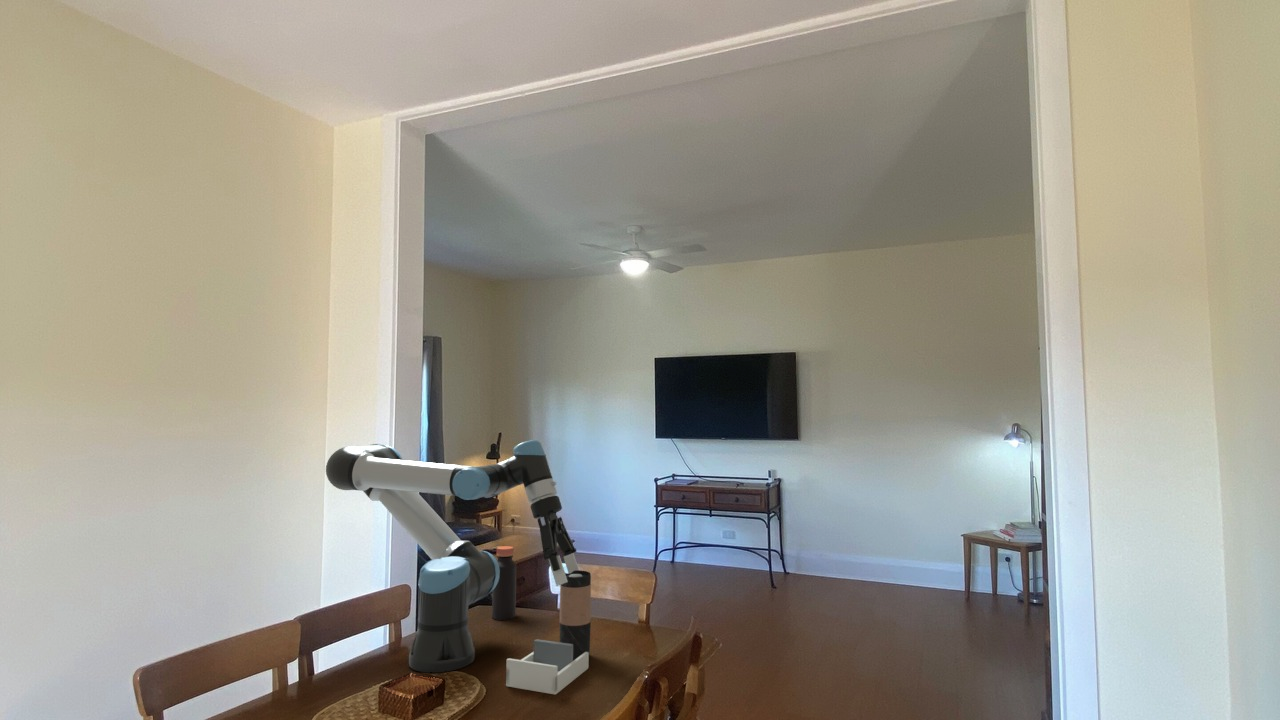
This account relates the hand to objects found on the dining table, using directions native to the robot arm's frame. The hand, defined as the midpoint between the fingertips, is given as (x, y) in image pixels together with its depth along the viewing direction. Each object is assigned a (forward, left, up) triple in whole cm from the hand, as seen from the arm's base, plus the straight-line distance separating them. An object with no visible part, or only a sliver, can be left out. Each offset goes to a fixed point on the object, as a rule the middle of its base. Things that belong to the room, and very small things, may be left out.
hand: (569, 582), depth 162 cm
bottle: (-33, +23, -18) cm, 44 cm away
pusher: (+1, -10, -18) cm, 21 cm away
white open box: (+1, -12, -18) cm, 22 cm away
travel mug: (+1, +1, -18) cm, 18 cm away
